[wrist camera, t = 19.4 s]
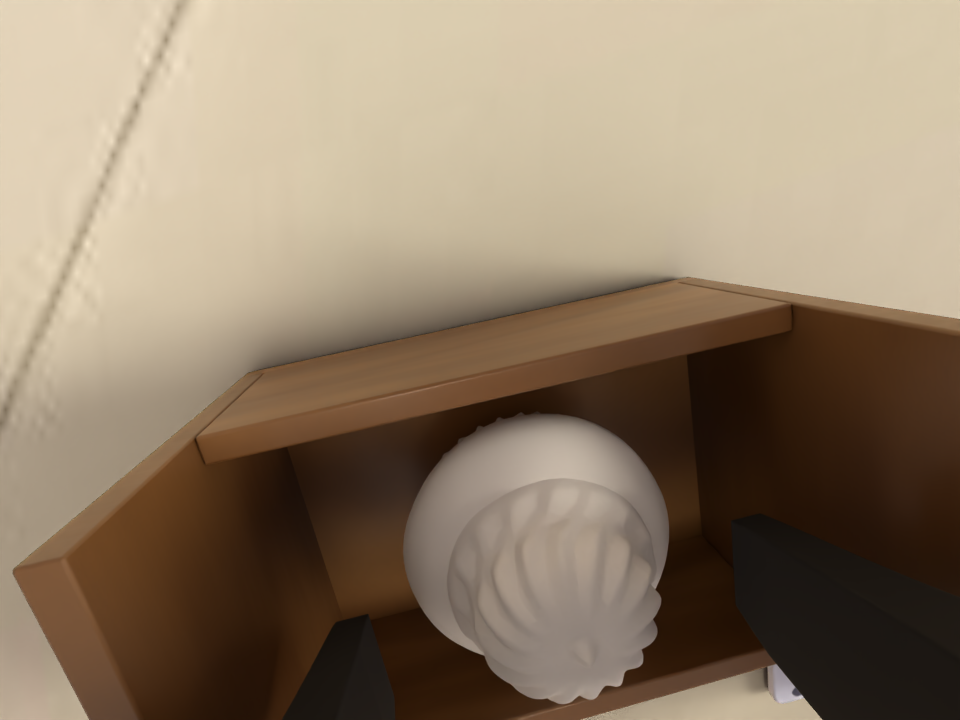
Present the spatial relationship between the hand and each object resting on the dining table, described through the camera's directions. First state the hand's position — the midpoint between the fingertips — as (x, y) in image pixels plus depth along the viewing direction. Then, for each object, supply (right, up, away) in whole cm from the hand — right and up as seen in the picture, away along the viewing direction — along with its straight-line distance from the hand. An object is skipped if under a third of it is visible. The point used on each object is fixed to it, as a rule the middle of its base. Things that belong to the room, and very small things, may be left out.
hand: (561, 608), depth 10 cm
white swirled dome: (-1, +1, +6) cm, 6 cm away
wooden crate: (-1, +2, +6) cm, 6 cm away
